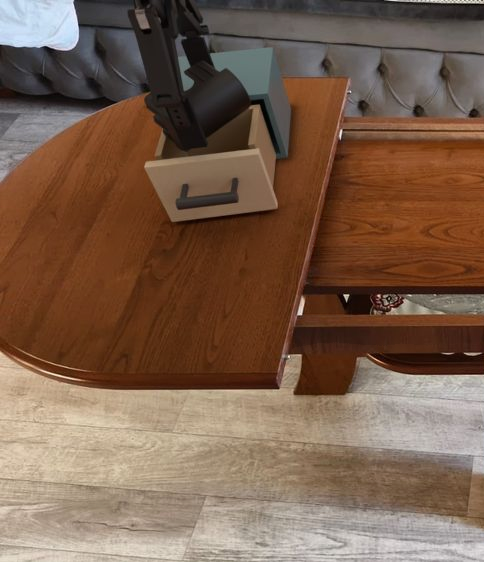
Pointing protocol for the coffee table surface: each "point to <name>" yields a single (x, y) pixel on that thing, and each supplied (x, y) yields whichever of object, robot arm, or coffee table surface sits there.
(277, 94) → the cabinet
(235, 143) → the drawer
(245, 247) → the coffee table surface
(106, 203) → the coffee table surface
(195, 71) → the end cap
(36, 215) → the coffee table surface
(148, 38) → the robot arm
